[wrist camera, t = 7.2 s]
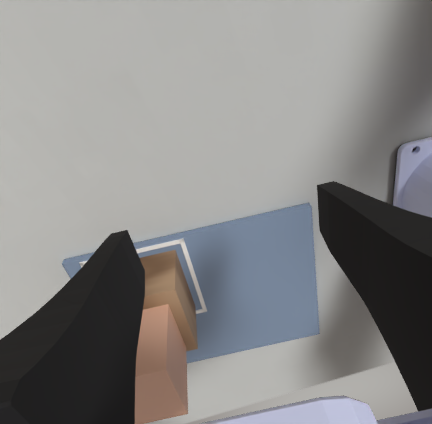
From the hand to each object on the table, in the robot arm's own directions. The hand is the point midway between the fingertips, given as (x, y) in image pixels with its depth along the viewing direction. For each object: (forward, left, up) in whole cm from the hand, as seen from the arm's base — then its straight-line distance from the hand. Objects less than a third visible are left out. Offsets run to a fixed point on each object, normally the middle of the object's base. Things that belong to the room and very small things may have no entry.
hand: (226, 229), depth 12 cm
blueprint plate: (+3, +13, -9) cm, 16 cm away
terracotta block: (+7, +10, -5) cm, 13 cm away
